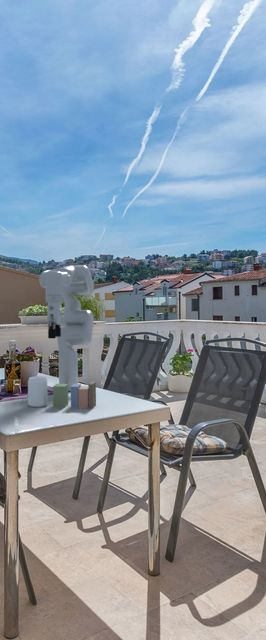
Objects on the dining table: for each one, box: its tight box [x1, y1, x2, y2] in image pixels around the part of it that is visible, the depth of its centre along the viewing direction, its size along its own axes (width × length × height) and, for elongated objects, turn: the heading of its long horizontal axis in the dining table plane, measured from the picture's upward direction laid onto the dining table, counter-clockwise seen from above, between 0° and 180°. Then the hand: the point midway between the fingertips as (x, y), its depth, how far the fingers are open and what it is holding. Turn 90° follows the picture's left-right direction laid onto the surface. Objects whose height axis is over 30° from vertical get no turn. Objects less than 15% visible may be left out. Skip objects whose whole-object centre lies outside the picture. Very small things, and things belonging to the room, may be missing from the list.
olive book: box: [52, 383, 69, 409], centre depth 214 cm, size 6×5×9 cm
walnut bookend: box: [87, 381, 97, 409], centre depth 213 cm, size 7×2×10 cm, turn 175°
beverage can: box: [27, 375, 49, 408], centre depth 215 cm, size 8×8×12 cm
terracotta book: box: [77, 385, 90, 409], centre depth 213 cm, size 6×4×8 cm, turn 175°
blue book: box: [70, 383, 82, 409], centre depth 214 cm, size 6×3×9 cm, turn 175°
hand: (54, 337), depth 226 cm, fingers open, 9 cm apart
